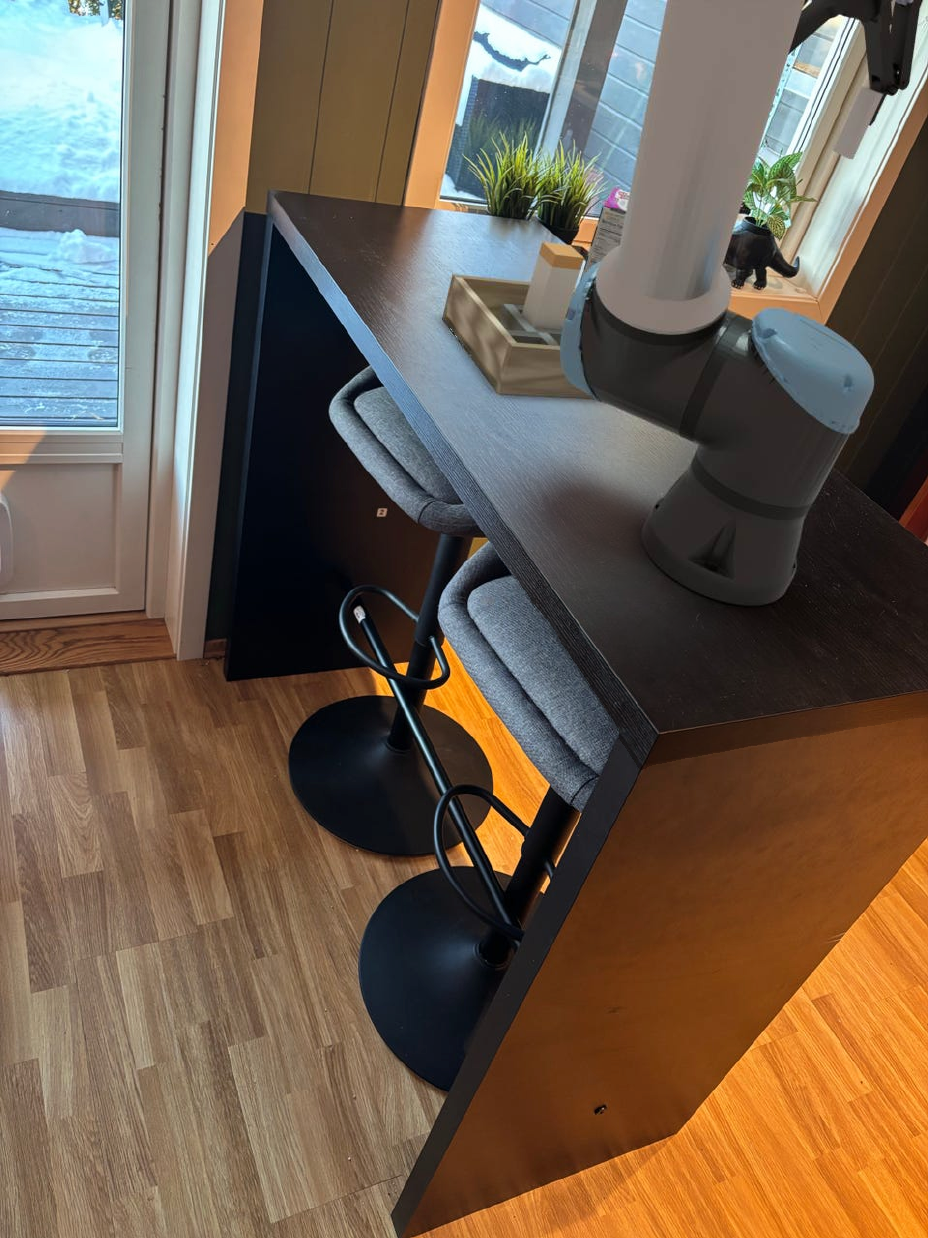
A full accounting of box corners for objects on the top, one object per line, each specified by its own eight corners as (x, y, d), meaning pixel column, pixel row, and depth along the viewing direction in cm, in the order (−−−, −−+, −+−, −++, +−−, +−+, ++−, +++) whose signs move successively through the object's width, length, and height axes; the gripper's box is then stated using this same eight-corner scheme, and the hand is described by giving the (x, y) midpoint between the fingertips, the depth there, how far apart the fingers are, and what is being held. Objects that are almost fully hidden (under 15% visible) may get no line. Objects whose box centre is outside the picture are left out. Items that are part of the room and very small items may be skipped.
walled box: (627, 400, 119) (644, 355, 115) (498, 393, 112) (512, 346, 108) (560, 328, 132) (573, 286, 129) (442, 318, 125) (452, 273, 121)
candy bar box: (578, 297, 144) (614, 185, 134) (609, 308, 144) (647, 197, 134) (564, 320, 135) (602, 202, 125) (598, 332, 135) (638, 214, 125)
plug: (555, 349, 124) (584, 257, 116) (528, 347, 122) (555, 254, 115) (542, 335, 126) (570, 245, 119) (516, 333, 125) (542, 241, 117)
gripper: (961, -71, 96) (859, 151, 109) (771, -140, 86) (682, 115, 99) (1016, -58, 91) (902, 173, 104) (821, -129, 81) (721, 137, 94)
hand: (795, 145), depth 101 cm, fingers open, 13 cm apart
